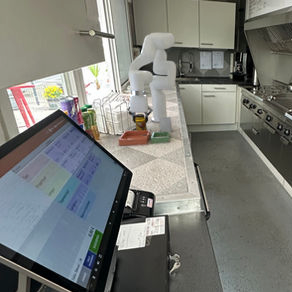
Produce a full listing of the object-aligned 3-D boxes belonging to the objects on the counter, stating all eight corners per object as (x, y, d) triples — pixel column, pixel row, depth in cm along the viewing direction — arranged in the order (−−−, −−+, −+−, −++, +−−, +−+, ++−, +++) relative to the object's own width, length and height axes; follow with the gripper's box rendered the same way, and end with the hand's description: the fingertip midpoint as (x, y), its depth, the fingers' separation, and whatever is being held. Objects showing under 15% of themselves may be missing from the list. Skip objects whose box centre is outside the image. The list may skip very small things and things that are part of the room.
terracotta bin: (126, 136, 143) (125, 130, 142) (150, 135, 146) (150, 130, 145) (119, 145, 128) (118, 139, 127) (146, 144, 131) (146, 138, 130)
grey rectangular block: (172, 132, 153) (170, 117, 149) (161, 133, 150) (159, 118, 146) (171, 130, 156) (170, 116, 152) (160, 132, 153) (159, 117, 149)
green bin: (153, 137, 143) (153, 131, 142) (169, 137, 145) (169, 131, 144) (151, 143, 133) (151, 137, 132) (168, 143, 135) (168, 137, 133)
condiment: (143, 135, 146) (140, 116, 141) (131, 133, 148) (128, 115, 143) (150, 132, 152) (148, 113, 147) (139, 130, 154) (136, 112, 150)
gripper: (153, 92, 146) (156, 120, 153) (123, 92, 143) (127, 121, 149) (152, 94, 140) (154, 123, 146) (120, 94, 136) (124, 124, 142)
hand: (140, 122), depth 147 cm, fingers closed on condiment, 6 cm apart
